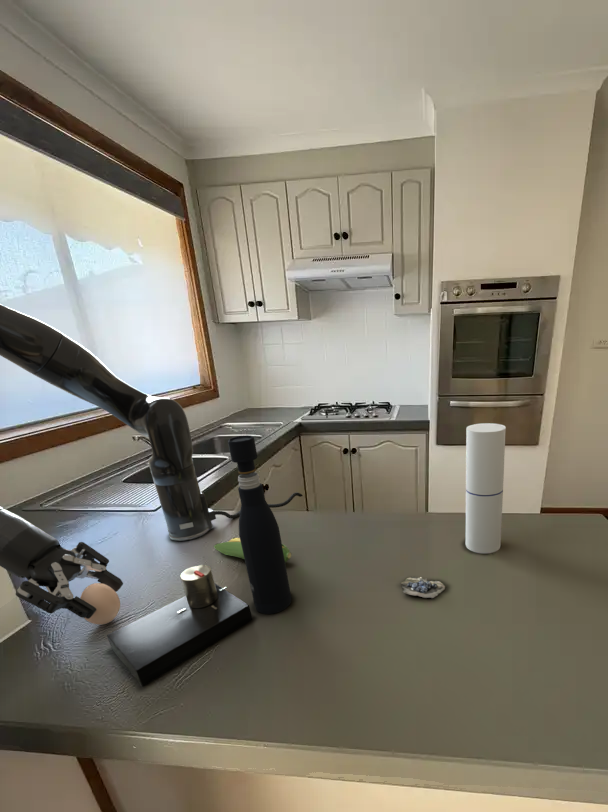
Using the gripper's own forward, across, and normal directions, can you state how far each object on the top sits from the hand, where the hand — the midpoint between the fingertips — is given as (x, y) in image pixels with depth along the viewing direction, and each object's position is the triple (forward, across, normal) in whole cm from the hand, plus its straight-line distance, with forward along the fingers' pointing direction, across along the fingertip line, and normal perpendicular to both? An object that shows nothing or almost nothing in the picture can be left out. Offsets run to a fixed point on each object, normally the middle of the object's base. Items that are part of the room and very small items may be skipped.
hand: (107, 600), depth 72 cm
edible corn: (+16, +20, -10) cm, 27 cm away
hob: (+13, -4, -7) cm, 16 cm away
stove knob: (+12, +1, -10) cm, 16 cm away
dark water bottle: (+23, +3, -16) cm, 28 cm away
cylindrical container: (+51, +20, -45) cm, 71 cm away
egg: (+2, 0, +4) cm, 5 cm away
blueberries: (+41, +6, -35) cm, 55 cm away
